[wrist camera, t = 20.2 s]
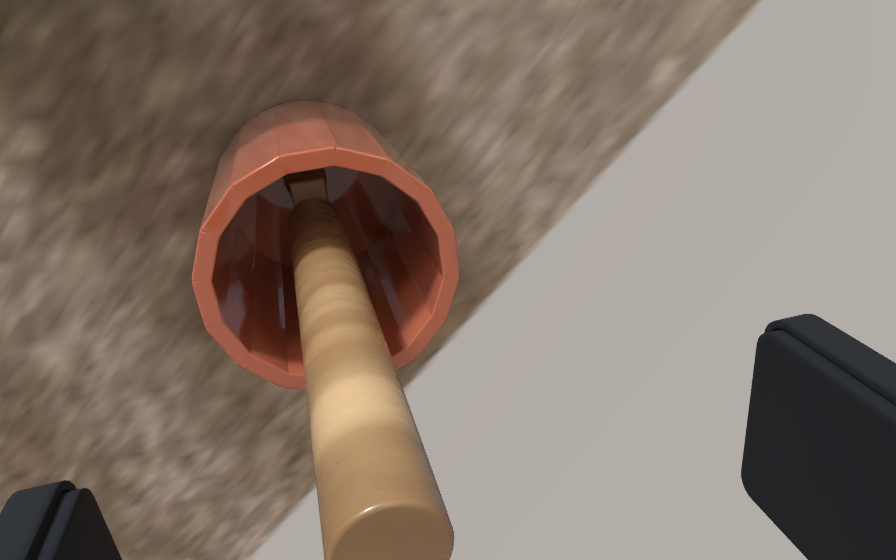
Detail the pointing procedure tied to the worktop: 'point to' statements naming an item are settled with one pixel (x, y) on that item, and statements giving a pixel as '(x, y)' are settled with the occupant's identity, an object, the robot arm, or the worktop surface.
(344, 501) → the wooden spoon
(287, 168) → the crock
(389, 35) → the worktop surface
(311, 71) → the worktop surface
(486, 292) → the worktop surface
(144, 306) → the worktop surface
